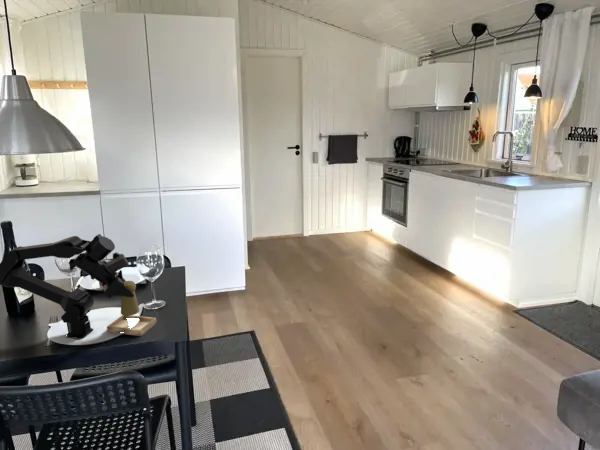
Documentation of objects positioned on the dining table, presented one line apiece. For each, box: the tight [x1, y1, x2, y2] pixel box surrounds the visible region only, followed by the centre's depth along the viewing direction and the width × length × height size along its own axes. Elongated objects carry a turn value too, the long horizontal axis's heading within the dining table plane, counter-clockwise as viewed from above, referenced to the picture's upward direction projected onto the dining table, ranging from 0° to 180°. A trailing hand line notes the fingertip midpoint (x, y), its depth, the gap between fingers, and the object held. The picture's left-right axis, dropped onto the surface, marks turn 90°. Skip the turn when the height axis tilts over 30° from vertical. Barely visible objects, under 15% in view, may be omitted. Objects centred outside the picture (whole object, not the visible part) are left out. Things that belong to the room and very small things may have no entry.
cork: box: [120, 280, 140, 316], centre depth 154 cm, size 6×6×11 cm
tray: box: [106, 314, 157, 337], centre depth 157 cm, size 13×10×2 cm
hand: (132, 293), depth 154 cm, fingers closed on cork, 5 cm apart
